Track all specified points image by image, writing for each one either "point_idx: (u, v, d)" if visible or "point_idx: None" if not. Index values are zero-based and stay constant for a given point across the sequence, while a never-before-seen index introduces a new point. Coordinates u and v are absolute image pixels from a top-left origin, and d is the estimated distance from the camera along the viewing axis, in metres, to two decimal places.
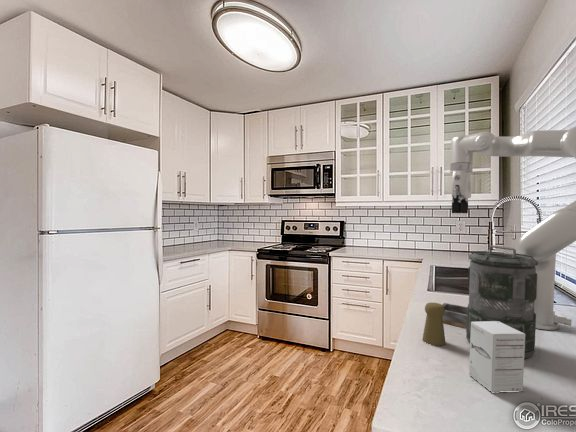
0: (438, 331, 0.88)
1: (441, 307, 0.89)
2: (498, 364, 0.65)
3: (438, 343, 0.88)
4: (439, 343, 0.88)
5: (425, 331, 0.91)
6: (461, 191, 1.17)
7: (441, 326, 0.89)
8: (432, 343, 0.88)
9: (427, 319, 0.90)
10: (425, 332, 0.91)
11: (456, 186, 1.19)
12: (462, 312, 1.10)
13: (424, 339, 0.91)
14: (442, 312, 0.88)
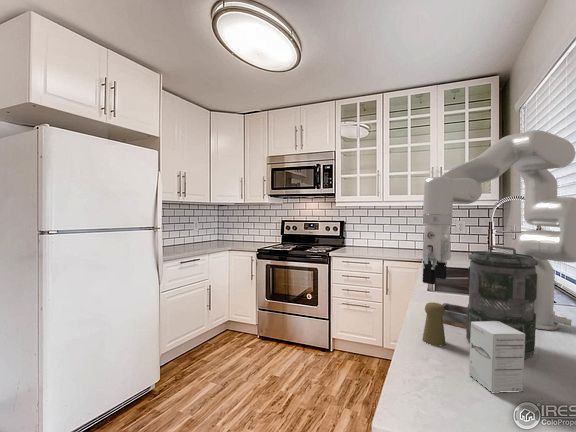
0: (438, 331, 0.88)
1: (441, 307, 0.89)
2: (498, 364, 0.65)
3: (438, 343, 0.88)
4: (439, 343, 0.88)
5: (425, 331, 0.91)
6: (435, 254, 0.85)
7: (441, 326, 0.89)
8: (432, 343, 0.88)
9: (427, 319, 0.90)
10: (425, 332, 0.91)
11: (428, 246, 0.87)
12: (462, 312, 1.10)
13: (424, 339, 0.91)
14: (442, 312, 0.88)
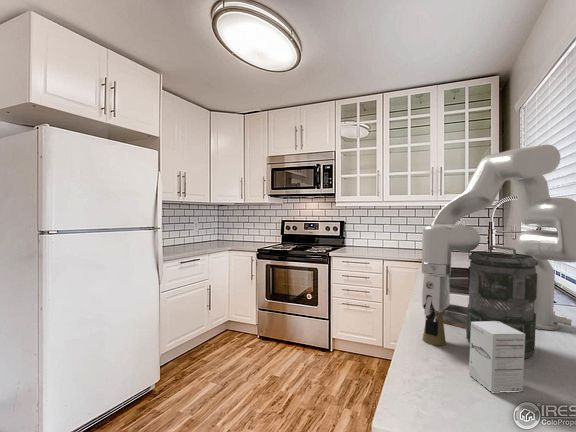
0: (439, 331, 0.88)
1: None
2: (498, 364, 0.65)
3: (438, 343, 0.88)
4: (439, 343, 0.88)
5: None
6: (434, 305, 0.86)
7: (441, 326, 0.89)
8: (432, 343, 0.88)
9: None
10: None
11: (428, 298, 0.87)
12: (462, 312, 1.10)
13: (424, 339, 0.91)
14: (442, 312, 0.88)
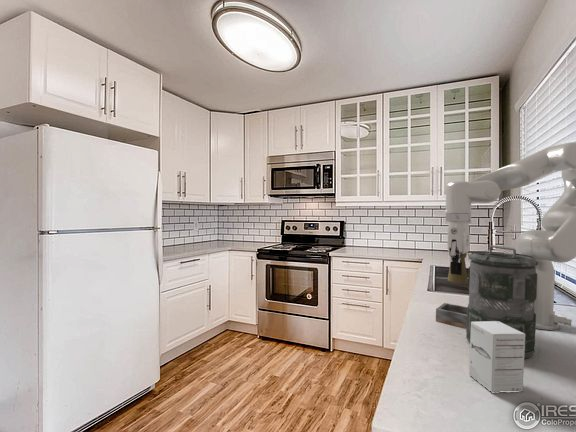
0: (462, 270, 1.04)
1: None
2: (498, 364, 0.65)
3: (462, 280, 1.04)
4: (463, 280, 1.04)
5: (450, 272, 1.06)
6: (459, 247, 1.01)
7: (464, 266, 1.05)
8: (457, 281, 1.04)
9: None
10: (450, 272, 1.06)
11: (453, 242, 1.03)
12: (462, 312, 1.10)
13: (449, 278, 1.06)
14: (464, 254, 1.04)
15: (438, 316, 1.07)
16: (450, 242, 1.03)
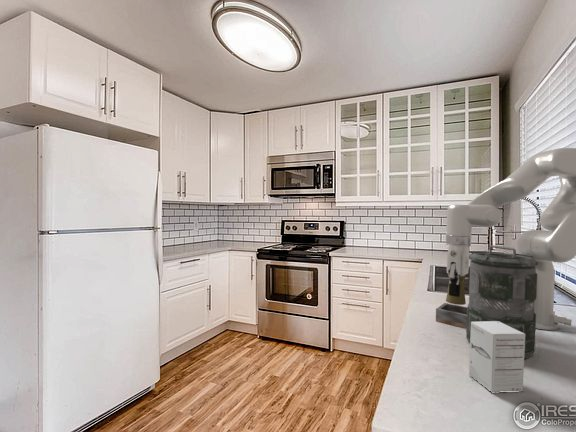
0: (460, 292, 1.05)
1: None
2: (498, 364, 0.65)
3: (460, 302, 1.05)
4: (461, 302, 1.05)
5: (448, 293, 1.08)
6: (458, 270, 1.03)
7: (462, 288, 1.06)
8: (455, 302, 1.06)
9: None
10: (448, 294, 1.08)
11: (452, 265, 1.04)
12: (462, 312, 1.10)
13: (447, 300, 1.08)
14: (463, 276, 1.05)
15: (438, 316, 1.07)
16: (449, 264, 1.05)
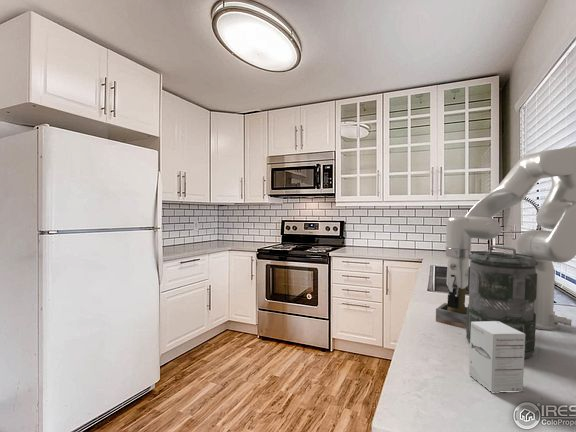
0: (461, 308, 1.05)
1: None
2: (498, 364, 0.65)
3: None
4: None
5: (449, 308, 1.08)
6: (458, 283, 1.03)
7: (463, 304, 1.06)
8: None
9: None
10: (449, 309, 1.08)
11: (451, 276, 1.04)
12: None
13: None
14: (464, 292, 1.05)
15: (438, 316, 1.07)
16: (449, 277, 1.05)
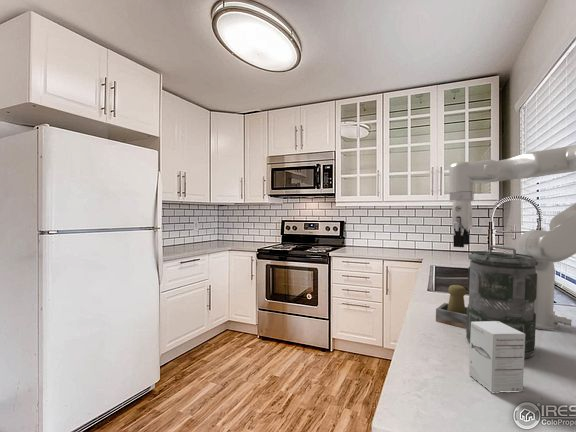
0: (461, 308, 1.05)
1: (463, 288, 1.06)
2: (498, 364, 0.65)
3: None
4: None
5: (449, 309, 1.08)
6: (463, 223, 1.07)
7: (463, 304, 1.06)
8: None
9: (450, 298, 1.08)
10: (449, 309, 1.08)
11: (457, 217, 1.09)
12: None
13: None
14: (464, 292, 1.06)
15: (438, 316, 1.07)
16: (455, 219, 1.09)
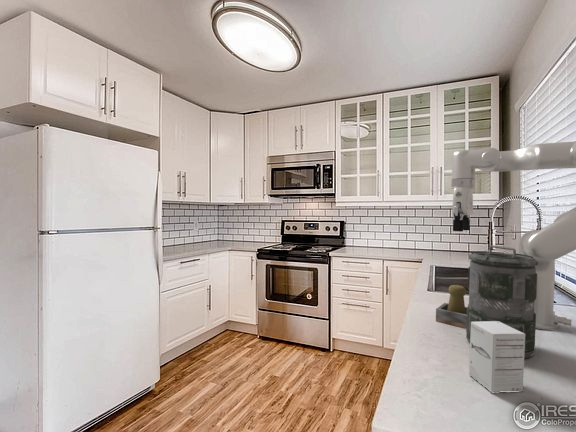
0: (461, 308, 1.05)
1: (463, 288, 1.06)
2: (498, 364, 0.65)
3: None
4: None
5: (449, 309, 1.08)
6: (463, 208, 1.12)
7: (463, 304, 1.06)
8: None
9: (451, 298, 1.08)
10: (449, 309, 1.08)
11: (457, 202, 1.14)
12: None
13: None
14: (464, 292, 1.06)
15: (438, 316, 1.07)
16: (455, 204, 1.14)
